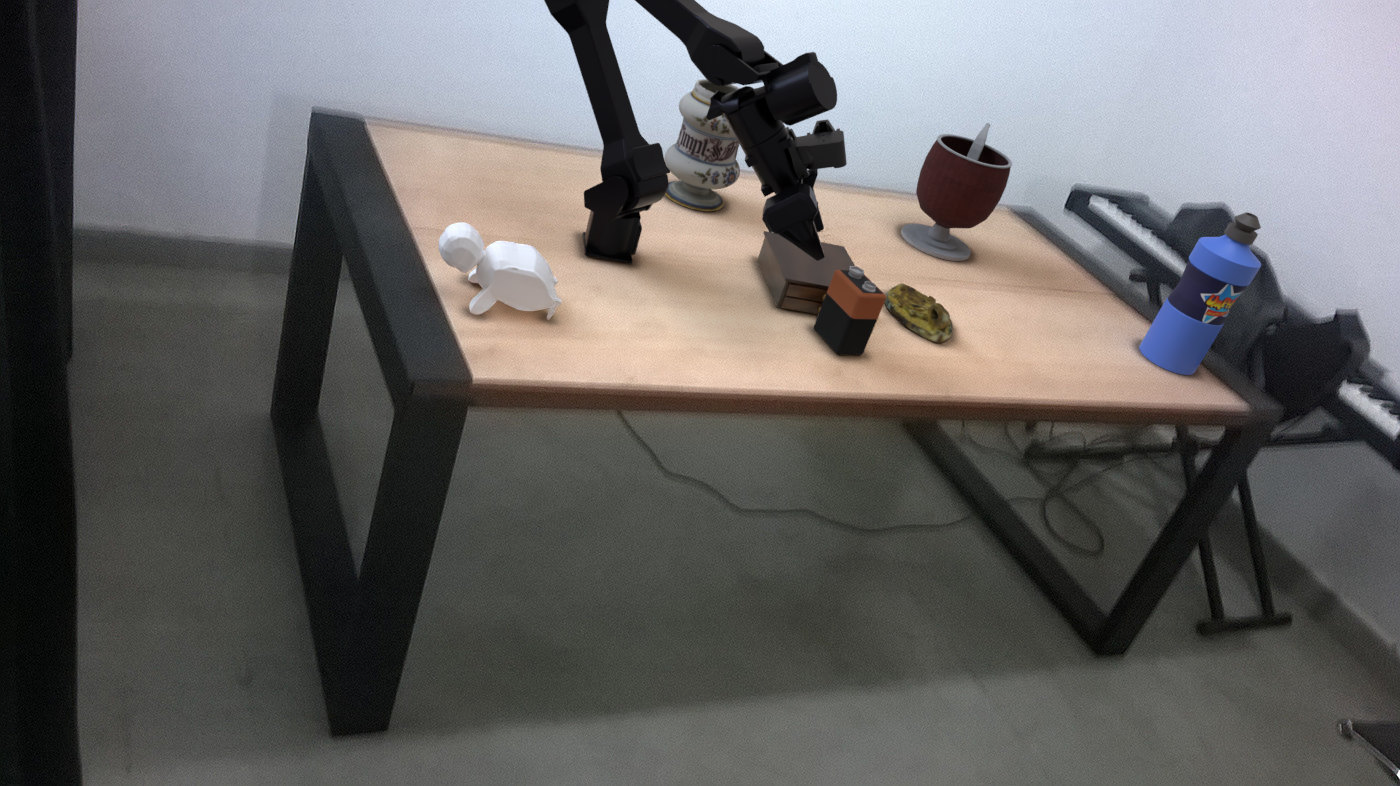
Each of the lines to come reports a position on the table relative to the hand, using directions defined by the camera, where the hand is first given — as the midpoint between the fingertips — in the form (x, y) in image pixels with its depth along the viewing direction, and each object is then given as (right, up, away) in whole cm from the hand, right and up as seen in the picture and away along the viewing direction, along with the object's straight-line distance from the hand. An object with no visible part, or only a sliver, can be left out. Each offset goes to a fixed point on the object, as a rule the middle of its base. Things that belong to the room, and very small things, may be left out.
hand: (820, 244), depth 134 cm
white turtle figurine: (-39, -8, -8) cm, 41 cm away
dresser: (0, -4, +18) cm, 18 cm away
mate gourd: (+25, +7, +49) cm, 56 cm away
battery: (+3, -12, +7) cm, 14 cm away
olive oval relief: (+16, -8, +21) cm, 28 cm away
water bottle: (+58, -13, +34) cm, 68 cm away
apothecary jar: (-16, +12, +36) cm, 41 cm away
